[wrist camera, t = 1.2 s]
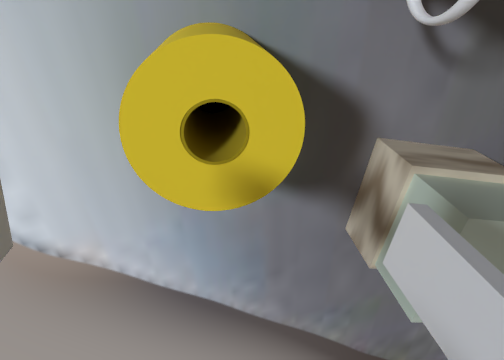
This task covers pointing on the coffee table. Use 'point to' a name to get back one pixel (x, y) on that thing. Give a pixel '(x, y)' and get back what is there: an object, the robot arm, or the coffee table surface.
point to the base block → (406, 185)
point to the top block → (454, 220)
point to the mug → (457, 10)
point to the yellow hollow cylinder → (211, 119)
